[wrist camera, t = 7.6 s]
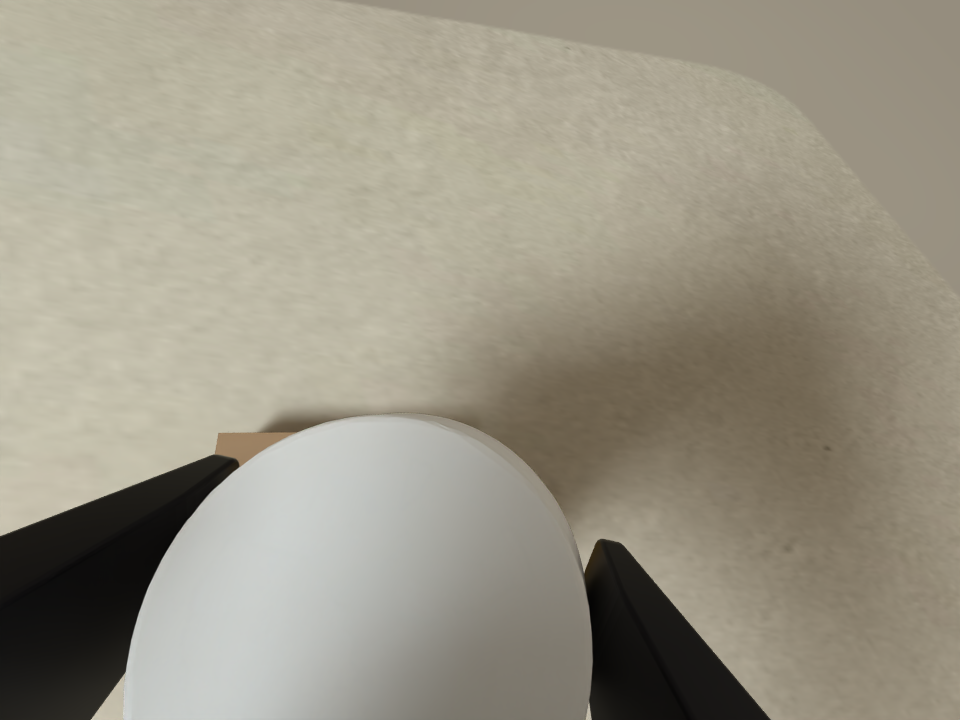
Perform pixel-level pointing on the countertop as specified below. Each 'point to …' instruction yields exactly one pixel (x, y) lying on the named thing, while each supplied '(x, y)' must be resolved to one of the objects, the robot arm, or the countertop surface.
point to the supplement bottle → (368, 586)
